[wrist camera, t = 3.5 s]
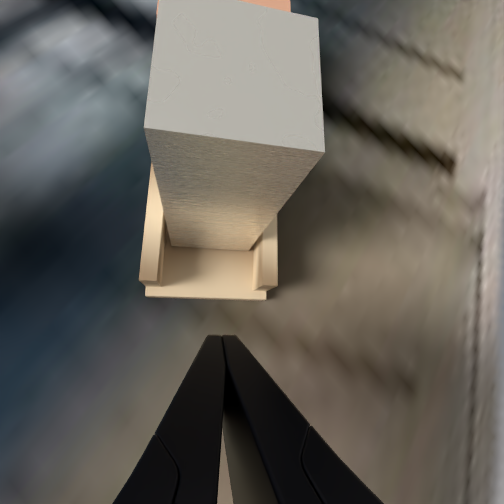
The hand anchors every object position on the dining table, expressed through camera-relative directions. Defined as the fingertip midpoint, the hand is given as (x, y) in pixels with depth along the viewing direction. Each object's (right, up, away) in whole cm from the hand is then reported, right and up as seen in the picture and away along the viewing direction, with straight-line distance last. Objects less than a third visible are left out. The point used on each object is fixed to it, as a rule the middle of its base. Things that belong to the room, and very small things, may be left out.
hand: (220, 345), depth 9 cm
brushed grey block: (-1, +7, +10) cm, 12 cm away
